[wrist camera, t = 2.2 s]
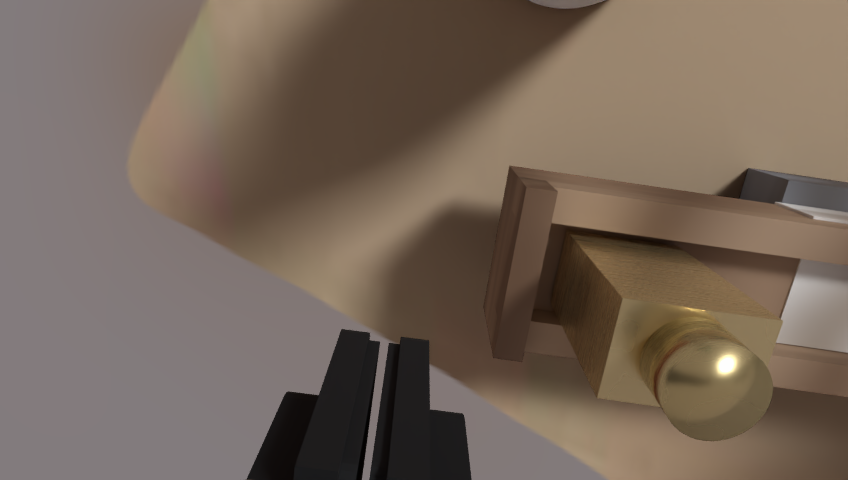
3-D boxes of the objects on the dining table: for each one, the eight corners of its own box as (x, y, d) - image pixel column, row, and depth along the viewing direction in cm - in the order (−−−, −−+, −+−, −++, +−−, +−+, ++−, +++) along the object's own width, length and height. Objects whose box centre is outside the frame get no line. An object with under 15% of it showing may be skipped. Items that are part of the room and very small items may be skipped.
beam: (1085, 217, 25) (1345, 273, 18) (1008, 376, 27) (1212, 484, 20) (505, 132, 25) (532, 155, 18) (475, 301, 27) (488, 383, 20)
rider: (677, 245, 20) (826, 351, 12) (657, 318, 21) (785, 459, 13) (566, 230, 20) (645, 326, 12) (550, 303, 21) (615, 436, 13)
